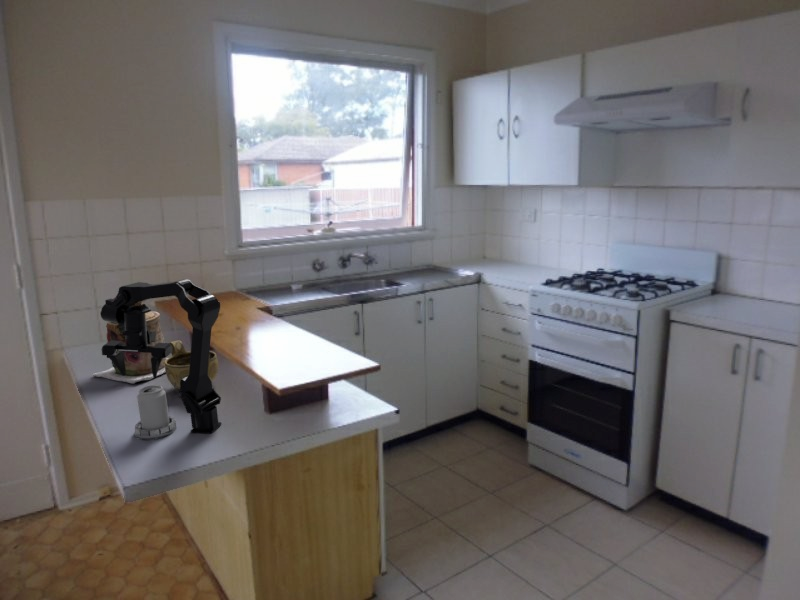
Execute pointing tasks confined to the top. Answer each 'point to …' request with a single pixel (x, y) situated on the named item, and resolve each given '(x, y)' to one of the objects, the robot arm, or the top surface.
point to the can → (153, 407)
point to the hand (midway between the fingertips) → (139, 376)
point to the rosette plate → (155, 431)
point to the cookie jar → (134, 361)
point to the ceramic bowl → (185, 364)
